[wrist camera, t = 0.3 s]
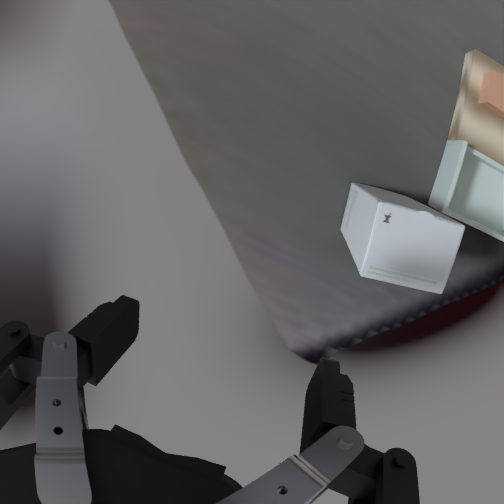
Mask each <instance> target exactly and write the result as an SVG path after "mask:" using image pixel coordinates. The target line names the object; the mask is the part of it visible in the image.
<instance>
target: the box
mask: <svg viewBox="0 0 504 504" xmlns="http://www.w3.org/2000/svg"><path fill="white" fill-rule="evenodd" d="M467 144H468V142H467V141H465V140H447V143H446V146H445V150H444V154H443V157H442V160H441V164H440V167H439V170H438V174H437V177H436V180H435V183H434V186H433V189H432V192H431V195H430V198H429V201H428V204H427V205H429V206H431V207H433V208H435V209H436V210H438V211H440V212H442V213H444V214H446V215H448V216H451V217H453V218H455V219H457V220H459V221H462V222H464V223H466V224H468V225H470V226H472V227H474V228H477V229H479V230H481V231H483V232H485V233H487V234H489V235H491V236H493V237H495V238H497V239H499V240H501V241H503V242H504V166H502V165H501V164H499V163H497V162H496V161H494V160H492V159H491V158H489V157H487V156H485V155H484V154H482V153H480V152H478V151H476V150H475V149H473V148H471V147H469V146H467Z"/></svg>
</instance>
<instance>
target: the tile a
mask: <svg viewBox="0 0 504 504" xmlns="http://www.w3.org/2000/svg"><path fill="white" fill-rule="evenodd" d="M478 104H479V105H481V106H483V107H484V108H486V109H488V110H489V111H491V112H493V113H494V114H496V115H498V116H499V117H501V118H502V119H504V76H502V75H501V74H499V73H498V72H496V71H494V70H490V71H487V72H485V73H483V79H482V85H481V91H480V97H479V102H478Z"/></svg>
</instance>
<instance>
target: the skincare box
mask: <svg viewBox="0 0 504 504" xmlns="http://www.w3.org/2000/svg"><path fill="white" fill-rule="evenodd" d="M464 230H465V226H464V225H463V224H461V223H459V222H457V221H455V220H453V219H451V218H450V217H448V216H446V215H444V214H442V213H440V212H438V211H436V210H434V209H432V208H430V207H428V206H426V205H424V204H422V203H419V202H417V201H415V200H414V199H412V198H410V197H407V196H404V195H401V194H398V193H395V192H391V191H388V190H384V189H381V188H377V187H373V186H369V185H364V184H360V183H355V182H353V183H352V184H351V188H350V192H349V196H348V200H347V205H346V209H345V213H344V217H343V221H342V225H341V231H342V233H343V236H344V238H345V240H346V242H347V245H348V247H349V249H350V251H351V254H352V256H353V258H354V261H355V263H356V266H357V267H358V270H359V273H360V275H361V276H362V277H367V278H371V279H376V280H380V281H384V282H389V283H393V284H398V285H402V286H406V287H411V288H415V289H420V290H424V291H429V292H434V293H439V294H442V292H443V290H444V287H445V285H446V282H447V279H448V277H449V274H450V272H451V269H452V266H453V263H454V261H455V258H456V255H457V252H458V249H459V246H460V243H461V240H462V236H463V233H464Z"/></svg>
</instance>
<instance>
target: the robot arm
mask: <svg viewBox="0 0 504 504" xmlns="http://www.w3.org/2000/svg"><path fill="white" fill-rule="evenodd" d="M138 330H139V301H138V300H135V299H133V298H130V297H127V296H125V295H122V296H120V297H119V298H118V299H117V300H116V301H115V302H113V303H112V302H107V303H105V304H102V305H100V306H98V307H97V308H96V309H95V310H93V312H92V313H90V314H89V315H88V316H87V317H85V318H84V319H83V320H82V321H80V322H79V323H78V324H77V325H76V326H75V327H73V328H72V329H71V330H70V331H69V332H68V333H66V332H55V333H52V334H50V335H48V336H47V337H46V338H43V337H39V336H35V335H31V334H30V330H29V327H28V325H27V324H25V323H24V322H21V321H11V322H8V323H6V324H4V325H3V326H2V327H1V328H0V374H1V373H2V372H3V371H4V370H5V369H6V368H7V367H8V366H9V365H10V368H11V369H10V370H9V371H8V372H7V373H6V374H5V375H4V376H3V377H2V378H1V379H0V430H1V429H2V427H3V426H4V425H5V424H6V422H7V421H8V420H9V419H10V418H11V417H12V415H13V414H14V413H15V412H16V410H17V409H18V408H19V407H20V406H21V405H22V403H23V402H24V401H25V400H26V399H27V398H28V396H29V395H30V394H31V393H32V392H33V391H34V389H36V443H32V444H28V445H24V446H19V447H14V448H9V449H4V450H0V504H311V503H313V502H314V501H315V500H316V499H317V498H318V497H320V496H321V495H322V494H323V493H324V492H325V491H326V490H327V489H328V488H329V489H331V490H334V491H336V492H338V493H341V494H343V495H346V496H348V497H349V500H348V504H420V501H419V488H418V477H417V467H416V461H415V459H414V457H413V456H412V455H411V454H410V453H409V452H408V451H406V450H404V449H401V448H392V449H389V450H388V451H387V452H386V453H382V452H380V451H377V450H375V449H373V448H370V447H368V446H367V445H365V444H364V439H363V437H362V435H361V434H360V433H359V432H358V431H357V430H356V417H355V404H354V396H353V394H354V391H353V384H352V382H351V380H350V379H349V377H348V376H347V375H343V374H340V364H339V361H336V360H332V359H328V358H323V357H322V358H321V359H320V361H319V363H318V365H317V367H316V369H315V372H314V374H313V376H312V378H311V380H310V383H309V385H308V388H307V391H306V397H305V407H304V418H303V427H302V438H301V446H300V454H299V455H298V456H296V455H292V456H291V457H289V458H287V459H286V460H285V461H283V462H282V463H280V464H279V465H277V466H276V467H274V468H273V469H271V470H270V471H268V472H267V473H265V474H264V475H262V476H261V477H259V478H258V479H256V480H255V481H253V482H251V483H250V484H248V485H247V486H245V487H242V486H241V485H240V484H239V483H237V482H236V481H235V480H233V479H232V478H230V477H229V476H227V475H225V474H224V472H225V469H226V467H225V466H222V465H219V464H216V463H212V462H209V461H206V460H202V459H200V458H196V457H188V456H181V455H174V454H168V453H165V452H163V451H162V450H160V449H158V448H157V447H155V446H154V445H153V444H151V443H150V442H148V441H147V440H146V439H144V438H143V437H141V436H140V435H137V434H135V433H133V432H131V431H128V430H126V429H124V428H122V427H120V426H118V425H114V427H113V428H112V430H111V431H109V430H103V429H89V426H88V420H87V413H86V404H85V395H84V388H83V386H84V385H85V384H86V383H87V382H89V383H90V384H92V385H94V386H97V384H98V383H99V382H100V381H101V380H102V379H103V377H104V376H105V375H106V374H107V373H108V372H109V370H110V369H111V368H112V367H113V365H114V364H115V363H116V362H117V361H118V360H119V359H120V357H121V356H122V355H123V354H124V353H125V351H126V350H127V349H128V348H129V347H130V346H131V345H132V343H133V342H134V341H135V339H136V337H137V334H138Z"/></svg>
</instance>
